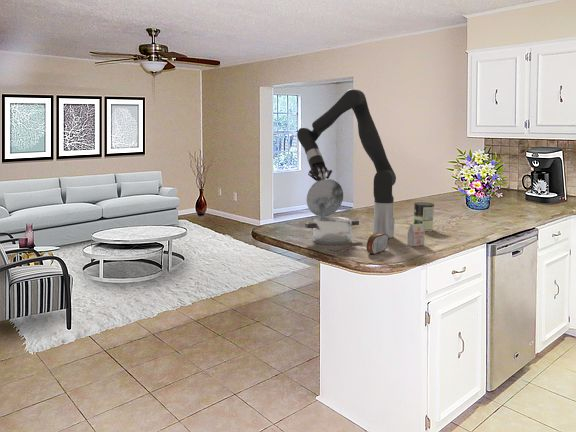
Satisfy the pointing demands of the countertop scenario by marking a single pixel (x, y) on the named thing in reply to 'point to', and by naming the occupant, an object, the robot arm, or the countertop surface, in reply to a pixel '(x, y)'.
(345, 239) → the cooker pot
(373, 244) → the tin
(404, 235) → the countertop surface
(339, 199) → the cooker lid
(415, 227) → the milk carton
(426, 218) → the coffee can
